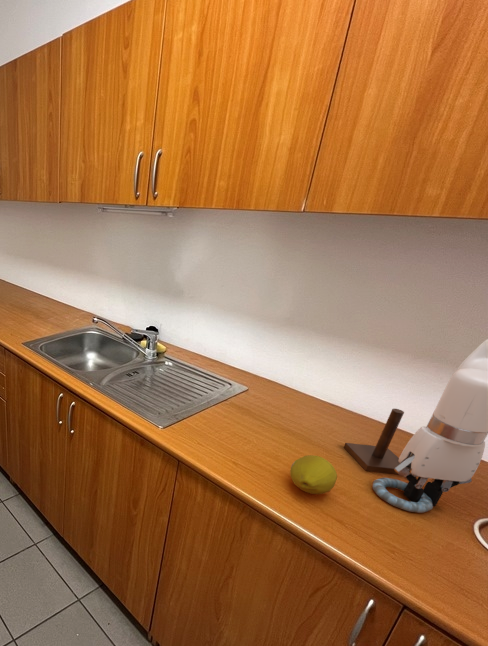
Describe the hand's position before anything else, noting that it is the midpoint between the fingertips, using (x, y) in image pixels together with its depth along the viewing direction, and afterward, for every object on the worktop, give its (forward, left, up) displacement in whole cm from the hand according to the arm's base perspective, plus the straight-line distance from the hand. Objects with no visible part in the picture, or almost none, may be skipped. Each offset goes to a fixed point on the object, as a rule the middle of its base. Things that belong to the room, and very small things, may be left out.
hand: (418, 499), depth 85 cm
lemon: (+22, +1, 0) cm, 22 cm away
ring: (+3, 0, +1) cm, 4 cm away
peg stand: (+1, -13, 0) cm, 13 cm away
